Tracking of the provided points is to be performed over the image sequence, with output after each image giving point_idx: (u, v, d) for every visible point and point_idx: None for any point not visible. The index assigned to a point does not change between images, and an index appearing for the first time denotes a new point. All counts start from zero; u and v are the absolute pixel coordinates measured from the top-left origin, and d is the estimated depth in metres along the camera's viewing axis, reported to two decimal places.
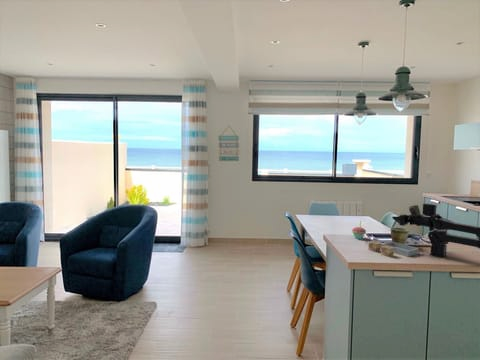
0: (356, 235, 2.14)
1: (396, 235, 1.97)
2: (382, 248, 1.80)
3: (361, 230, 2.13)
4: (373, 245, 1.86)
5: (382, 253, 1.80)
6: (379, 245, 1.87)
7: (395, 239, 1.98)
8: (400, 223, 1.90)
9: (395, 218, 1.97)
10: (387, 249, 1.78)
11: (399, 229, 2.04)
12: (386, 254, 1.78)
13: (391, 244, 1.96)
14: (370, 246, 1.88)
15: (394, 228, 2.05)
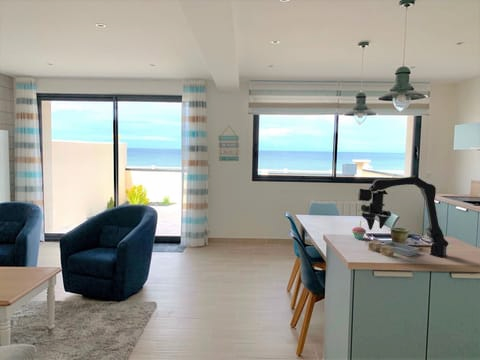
0: (356, 235, 2.14)
1: (396, 235, 1.97)
2: (382, 248, 1.80)
3: (361, 230, 2.13)
4: (373, 245, 1.86)
5: (382, 253, 1.80)
6: (379, 245, 1.87)
7: (395, 239, 1.98)
8: (368, 216, 1.81)
9: (369, 225, 1.85)
10: (387, 249, 1.78)
11: (399, 229, 2.04)
12: (386, 254, 1.78)
13: (391, 244, 1.96)
14: (370, 246, 1.88)
15: (394, 228, 2.05)
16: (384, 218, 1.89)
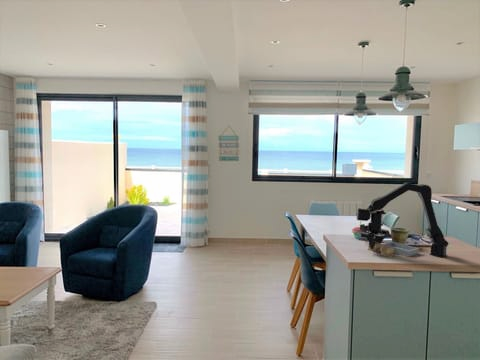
0: (356, 235, 2.14)
1: (396, 235, 1.97)
2: (382, 248, 1.80)
3: (361, 230, 2.13)
4: None
5: (382, 253, 1.80)
6: (379, 245, 1.87)
7: (395, 239, 1.98)
8: (367, 237, 1.81)
9: (371, 245, 1.86)
10: (387, 249, 1.78)
11: (399, 229, 2.04)
12: (386, 254, 1.78)
13: (391, 244, 1.96)
14: None
15: (394, 228, 2.05)
16: (380, 238, 1.88)
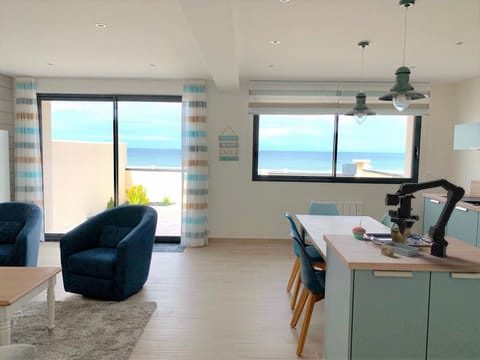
0: (356, 235, 2.14)
1: (396, 235, 1.97)
2: (382, 248, 1.80)
3: (361, 230, 2.13)
4: None
5: (382, 253, 1.80)
6: (409, 230, 1.83)
7: (395, 239, 1.98)
8: (398, 222, 1.77)
9: (401, 230, 1.82)
10: (387, 249, 1.78)
11: None
12: (386, 254, 1.78)
13: (391, 244, 1.96)
14: None
15: (394, 228, 2.05)
16: (410, 223, 1.84)
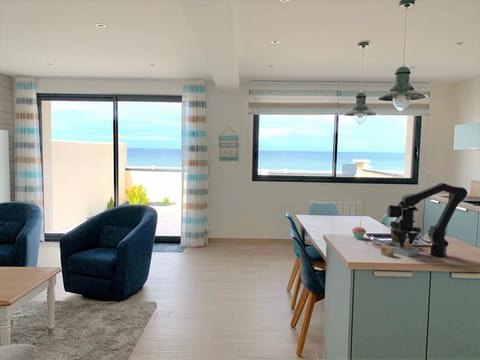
0: (356, 235, 2.14)
1: None
2: (382, 248, 1.80)
3: (361, 230, 2.13)
4: (404, 246, 1.83)
5: (382, 253, 1.80)
6: (410, 246, 1.84)
7: (395, 239, 1.98)
8: (400, 234, 1.78)
9: (401, 242, 1.82)
10: (387, 249, 1.78)
11: None
12: (386, 254, 1.78)
13: (391, 244, 1.96)
14: (401, 247, 1.85)
15: (394, 228, 2.05)
16: (414, 235, 1.85)
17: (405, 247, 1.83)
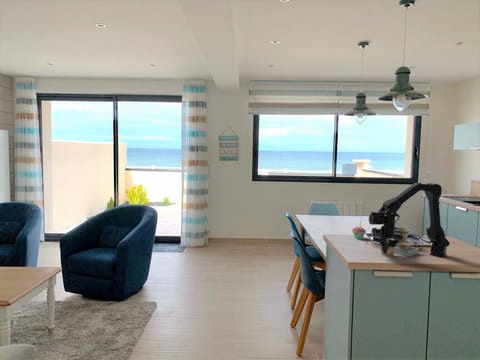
0: (356, 235, 2.14)
1: None
2: None
3: (361, 230, 2.13)
4: (404, 246, 1.83)
5: (382, 253, 1.80)
6: (410, 246, 1.84)
7: None
8: (380, 241, 1.73)
9: (384, 249, 1.78)
10: (387, 249, 1.78)
11: (399, 229, 2.04)
12: (386, 254, 1.78)
13: None
14: (401, 247, 1.85)
15: None
16: (394, 242, 1.80)
17: (405, 247, 1.83)
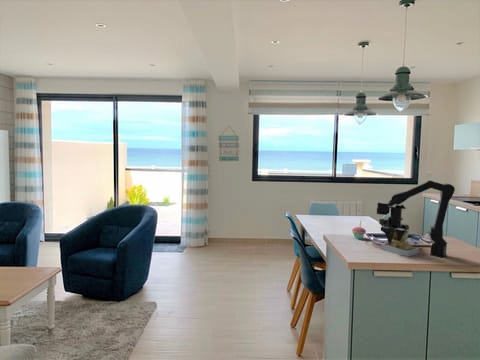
0: (356, 235, 2.14)
1: (396, 235, 1.97)
2: None
3: (361, 230, 2.13)
4: (404, 246, 1.83)
5: None
6: (410, 246, 1.84)
7: (395, 239, 1.98)
8: (388, 231, 1.83)
9: (389, 239, 1.87)
10: (394, 243, 1.88)
11: None
12: None
13: None
14: (401, 247, 1.85)
15: None
16: (402, 232, 1.91)
17: (405, 247, 1.83)
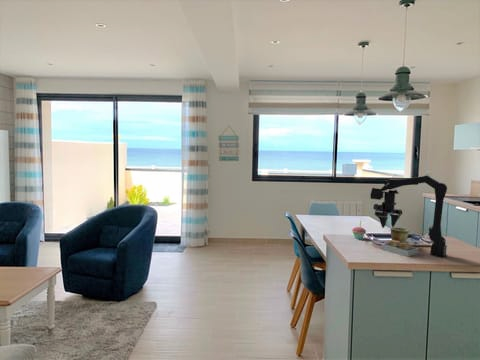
0: (356, 235, 2.14)
1: (396, 235, 1.97)
2: (389, 242, 1.91)
3: (361, 230, 2.13)
4: (404, 246, 1.83)
5: None
6: (410, 246, 1.84)
7: (395, 239, 1.98)
8: (381, 215, 1.88)
9: (382, 223, 1.92)
10: (394, 243, 1.88)
11: (399, 229, 2.04)
12: None
13: None
14: (401, 247, 1.85)
15: (394, 228, 2.05)
16: (396, 216, 1.96)
17: (405, 247, 1.83)
